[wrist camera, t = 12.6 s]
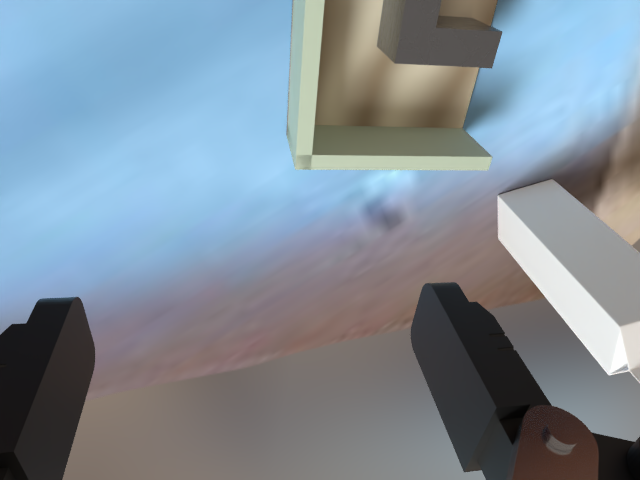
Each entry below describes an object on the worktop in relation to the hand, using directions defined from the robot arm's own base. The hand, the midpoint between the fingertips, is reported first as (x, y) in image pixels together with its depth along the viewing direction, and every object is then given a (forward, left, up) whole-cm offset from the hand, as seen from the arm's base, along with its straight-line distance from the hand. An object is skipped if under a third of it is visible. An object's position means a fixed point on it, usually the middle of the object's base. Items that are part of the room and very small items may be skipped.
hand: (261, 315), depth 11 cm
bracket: (+15, +3, -29) cm, 33 cm away
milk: (+30, -16, -30) cm, 46 cm away
